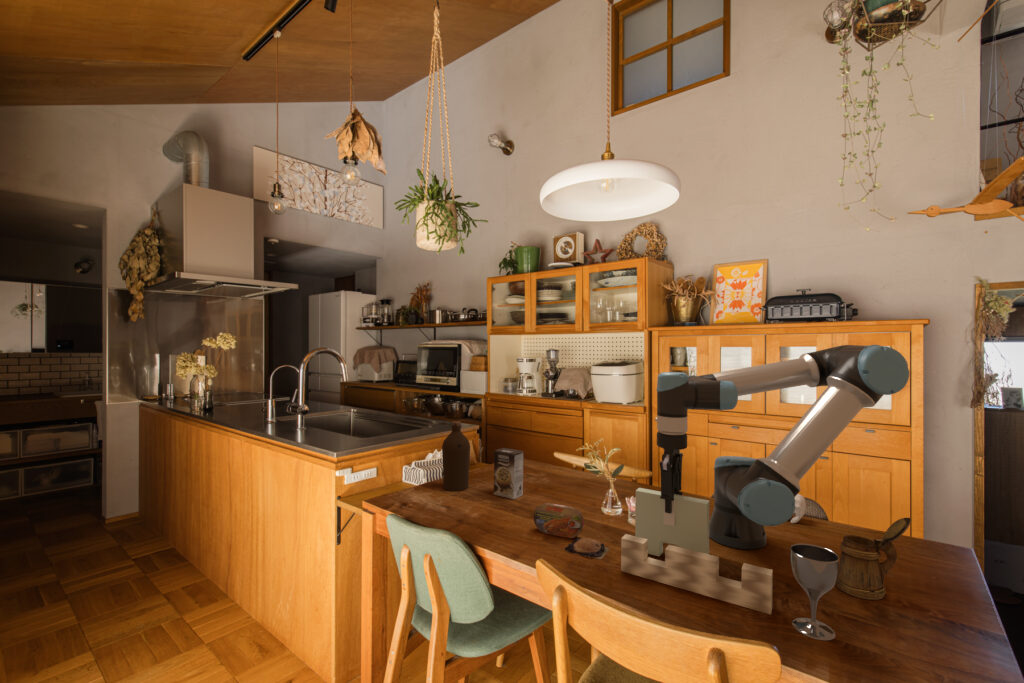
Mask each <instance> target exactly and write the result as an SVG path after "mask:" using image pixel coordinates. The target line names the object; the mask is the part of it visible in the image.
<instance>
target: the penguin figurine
mask: <svg viewBox="0 0 1024 683" xmlns="http://www.w3.org/2000/svg"><path fill="white" fill-rule="evenodd" d="M795 506H796V507H795V511H794V513H793V515H794V514H795V515H794V517H793V515H792V516H791V518H790V523H791V524H796V523H798V522H799V521H800V520H801V519H802V518H803V517H804V515H805V513H806V507H807V503H806V499H805V497H804V496H803V495H801V494H799V493H798V494H797V495H796V496H795Z"/></svg>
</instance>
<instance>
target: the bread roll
mask: <svg viewBox="0 0 1024 683" xmlns="http://www.w3.org/2000/svg"><path fill="white" fill-rule="evenodd" d="M609 551H610V548H609V547H606V546H605V544H604V543H600V542H599V541H598V540H597V539H592V538H590V537H589V538H588V537H576V539H573V540H572V542H571V543H568V545H567V546H566V547H565V550H564V552H566V553H569V554H573V555H577V556H580V557H583V558H588V559H593V560H594V559H596V560H603V559H604V558H605V556H606V554H607V553H608V552H609Z"/></svg>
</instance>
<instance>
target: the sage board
mask: <svg viewBox="0 0 1024 683" xmlns="http://www.w3.org/2000/svg"><path fill="white" fill-rule="evenodd" d="M660 496H661V490H660V491H659V490H653V489H649V488H643V487H638V488H637V489H636V490H635V509H634V512H635V514H634V515H635V518H634V521H635V526H634V529H635V530H634V531H635V535H634V536H636V537H640V538H644V539H648V555H652V556H657V557H660V556H662V554H663V553H664V544H668V545H673V546H677V547H681V548H685V549H689V550H693V551H697V552H701V553H706V554H710V537H709V522H710V500H707V499H703V498H696V497H694V496H693V497H692V496H688V495H687V496H686V495H683V494H682V495H676V494H674V500H675V526H670V525H666V524H663V521H664V499H660ZM660 558H661V557H660Z"/></svg>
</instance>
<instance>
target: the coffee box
mask: <svg viewBox="0 0 1024 683" xmlns="http://www.w3.org/2000/svg"><path fill="white" fill-rule="evenodd" d="M523 490H524V451H523V450H518V449H513V448H507V447H502V448H498V449H495V450H494V452H493V495H494V496H499V497H503V498H506V499H510V500H515V499H518V498H520V497H522V496H523V495H524V491H523Z"/></svg>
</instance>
